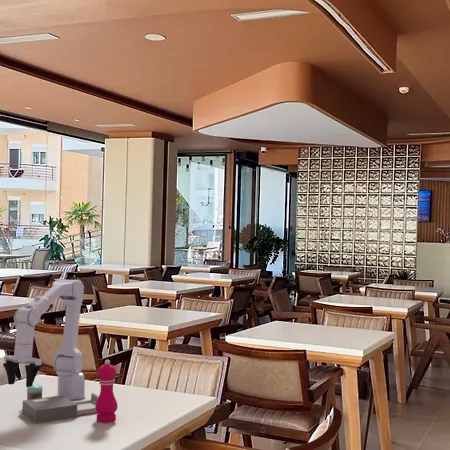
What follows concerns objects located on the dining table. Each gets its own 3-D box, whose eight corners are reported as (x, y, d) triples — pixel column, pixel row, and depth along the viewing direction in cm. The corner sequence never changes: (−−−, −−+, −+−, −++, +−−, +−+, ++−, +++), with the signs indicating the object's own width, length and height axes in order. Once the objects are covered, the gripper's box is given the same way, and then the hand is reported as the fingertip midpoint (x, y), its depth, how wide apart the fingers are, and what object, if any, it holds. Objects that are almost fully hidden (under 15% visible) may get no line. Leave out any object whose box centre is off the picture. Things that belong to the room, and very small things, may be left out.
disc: (39, 389, 234) (39, 383, 234) (44, 392, 230) (44, 386, 230) (25, 391, 232) (25, 385, 232) (29, 394, 227) (29, 388, 227)
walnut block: (38, 404, 234) (38, 390, 234) (41, 406, 230) (42, 392, 230) (27, 405, 231) (27, 391, 231) (30, 408, 228) (30, 394, 228)
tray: (93, 402, 237) (94, 392, 237) (109, 411, 226) (109, 401, 226) (57, 407, 229) (57, 397, 229) (71, 417, 218) (71, 407, 218)
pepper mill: (93, 418, 218) (94, 358, 218) (114, 416, 221) (115, 357, 221) (97, 424, 211) (98, 362, 211) (119, 422, 214) (120, 361, 214)
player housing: (62, 407, 230) (62, 394, 230) (77, 417, 219) (77, 404, 219) (22, 412, 223) (22, 400, 223) (35, 423, 211) (35, 409, 211)
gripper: (-2, 342, 218) (-6, 384, 216) (32, 346, 212) (28, 389, 210) (13, 342, 224) (10, 382, 223) (47, 345, 218) (43, 387, 217)
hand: (20, 385), depth 217 cm, fingers open, 7 cm apart
